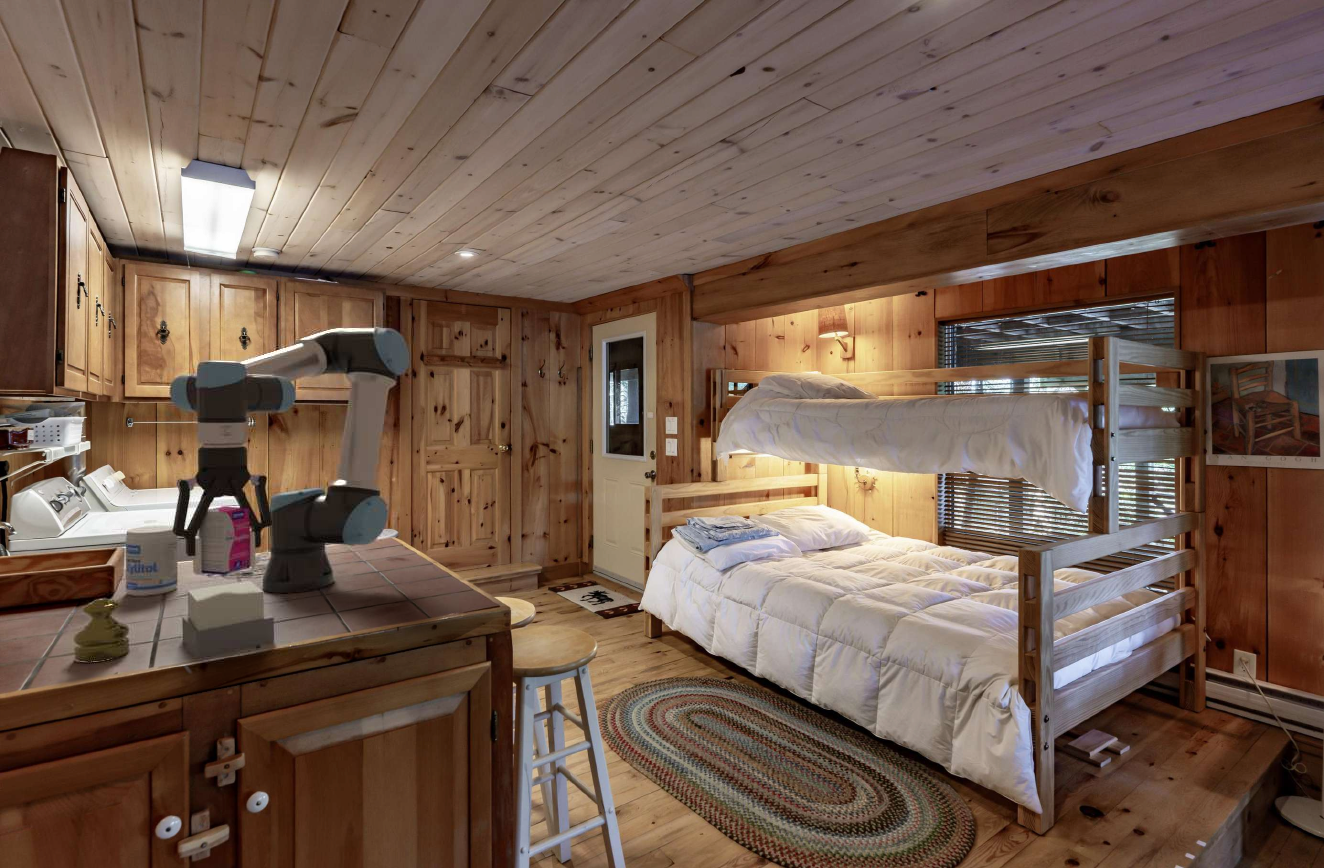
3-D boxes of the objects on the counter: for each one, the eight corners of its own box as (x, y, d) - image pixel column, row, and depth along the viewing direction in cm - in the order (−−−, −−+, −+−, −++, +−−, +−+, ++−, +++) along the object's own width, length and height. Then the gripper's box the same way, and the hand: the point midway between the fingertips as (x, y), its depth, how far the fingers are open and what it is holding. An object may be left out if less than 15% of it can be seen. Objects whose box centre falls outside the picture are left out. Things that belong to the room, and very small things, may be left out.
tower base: (182, 642, 123) (182, 616, 122) (256, 627, 131) (256, 603, 131) (196, 661, 114) (195, 632, 114) (274, 643, 123) (273, 617, 122)
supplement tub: (119, 599, 147) (117, 533, 147) (134, 587, 156) (132, 526, 155) (172, 594, 151) (170, 531, 150) (183, 584, 160) (182, 523, 159)
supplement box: (225, 575, 118) (224, 512, 118) (197, 573, 119) (196, 510, 119) (251, 567, 124) (250, 507, 123) (224, 565, 125) (223, 505, 125)
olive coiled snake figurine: (90, 666, 110) (89, 608, 110) (64, 660, 113) (62, 602, 113) (139, 651, 117) (138, 596, 117) (113, 645, 120) (111, 591, 119)
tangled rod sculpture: (189, 585, 164) (187, 569, 164) (215, 566, 178) (213, 551, 178) (274, 579, 168) (273, 563, 168) (293, 561, 182) (292, 546, 182)
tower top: (188, 616, 122) (187, 590, 122) (250, 605, 129) (250, 580, 129) (198, 630, 115) (197, 602, 115) (263, 618, 122) (263, 591, 122)
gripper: (156, 449, 111) (159, 583, 112) (291, 444, 125) (292, 563, 126) (148, 446, 116) (151, 575, 117) (279, 443, 131) (280, 556, 132)
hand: (224, 568), depth 122 cm, fingers closed on supplement box, 8 cm apart
